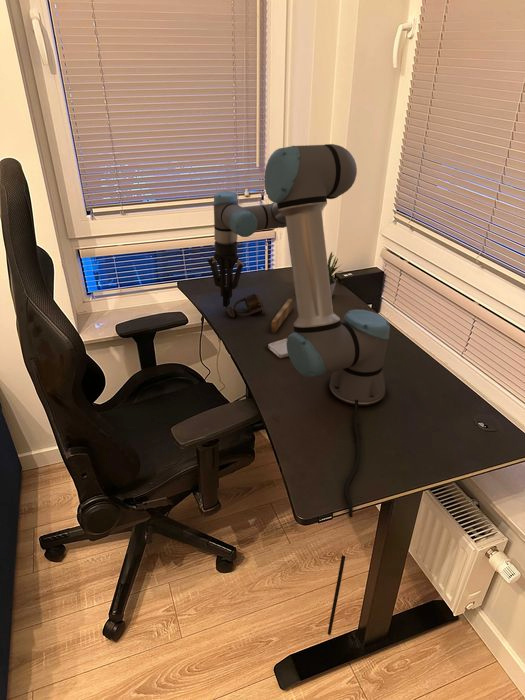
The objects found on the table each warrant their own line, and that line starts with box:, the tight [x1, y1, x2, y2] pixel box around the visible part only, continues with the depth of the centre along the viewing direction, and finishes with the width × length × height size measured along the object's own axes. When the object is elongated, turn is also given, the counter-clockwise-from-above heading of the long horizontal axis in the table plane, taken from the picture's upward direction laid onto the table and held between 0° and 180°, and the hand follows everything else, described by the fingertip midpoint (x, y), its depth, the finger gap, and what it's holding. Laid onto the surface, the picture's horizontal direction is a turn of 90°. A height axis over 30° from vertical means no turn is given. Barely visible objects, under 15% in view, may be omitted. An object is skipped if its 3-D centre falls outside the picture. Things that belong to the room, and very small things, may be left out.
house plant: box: [327, 251, 344, 298], centre depth 186 cm, size 14×14×16 cm
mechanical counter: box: [226, 292, 265, 318], centre depth 174 cm, size 7×13×10 cm
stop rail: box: [270, 298, 293, 334], centre depth 171 cm, size 18×1×4 cm, turn 159°
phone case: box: [267, 337, 289, 359], centre depth 157 cm, size 7×1×15 cm
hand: (226, 305), depth 177 cm, fingers closed
